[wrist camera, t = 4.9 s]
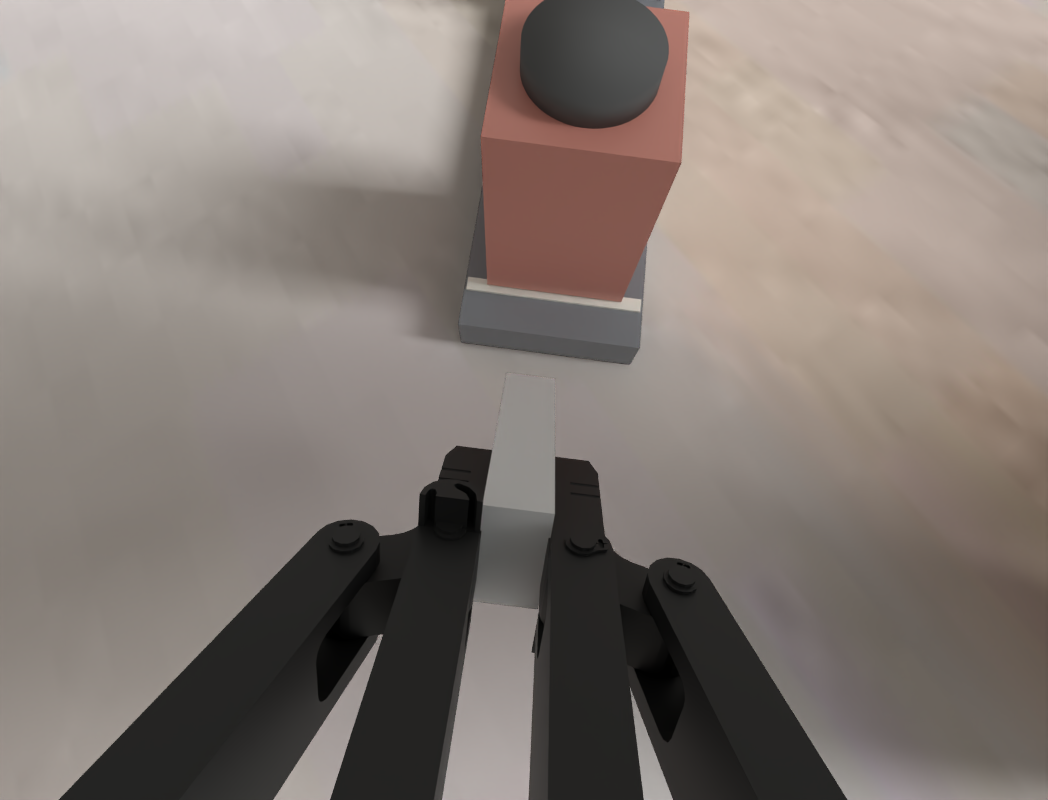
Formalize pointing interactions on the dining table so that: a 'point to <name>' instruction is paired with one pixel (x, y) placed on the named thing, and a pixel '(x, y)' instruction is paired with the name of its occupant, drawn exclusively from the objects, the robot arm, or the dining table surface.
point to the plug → (580, 141)
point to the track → (550, 310)
